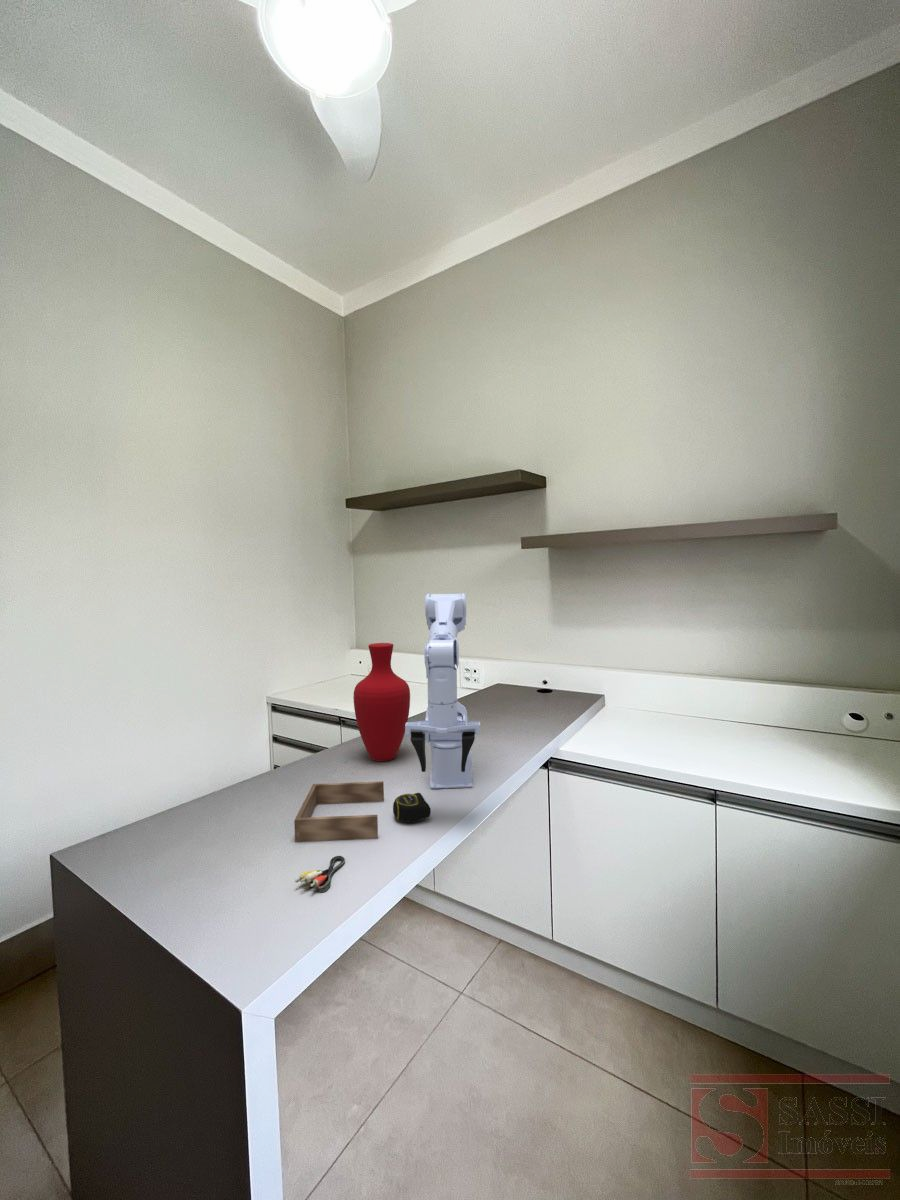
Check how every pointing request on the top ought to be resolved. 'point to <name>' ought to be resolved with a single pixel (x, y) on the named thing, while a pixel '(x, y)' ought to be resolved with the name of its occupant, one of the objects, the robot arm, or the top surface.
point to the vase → (382, 705)
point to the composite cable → (321, 875)
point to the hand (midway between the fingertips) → (443, 770)
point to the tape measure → (411, 808)
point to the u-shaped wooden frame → (338, 825)
